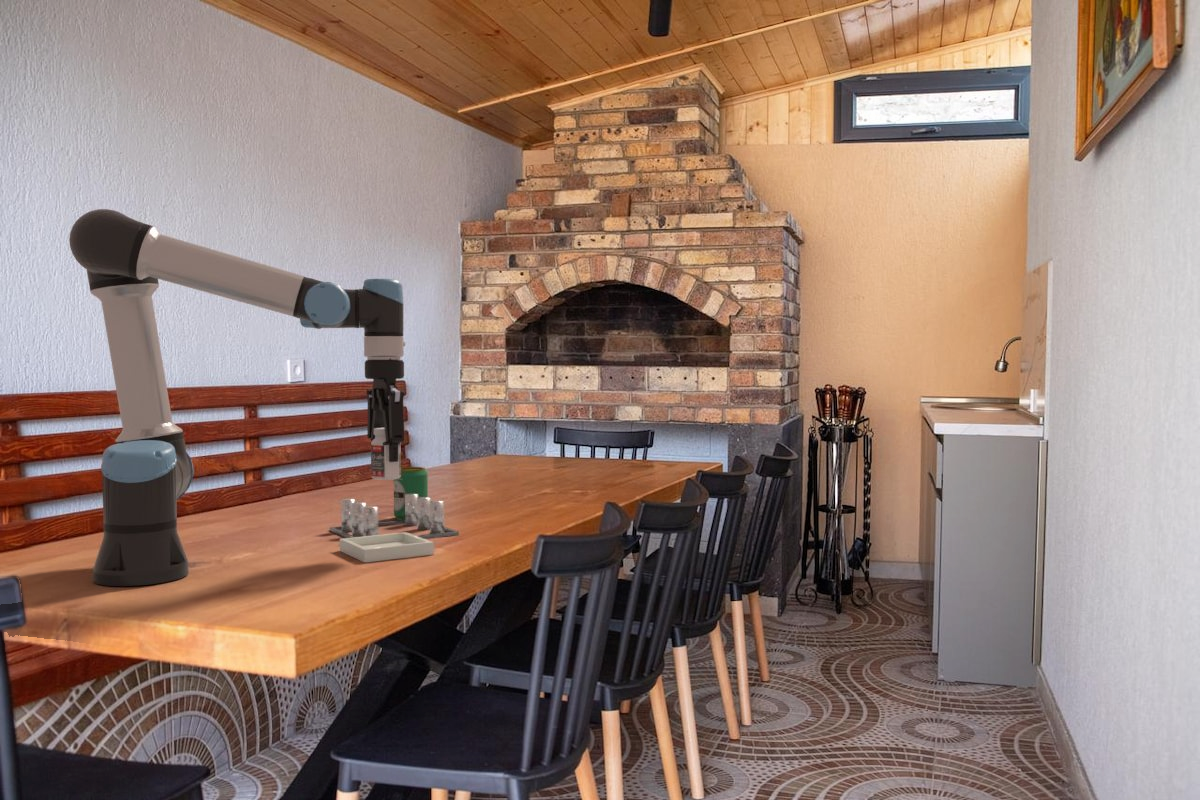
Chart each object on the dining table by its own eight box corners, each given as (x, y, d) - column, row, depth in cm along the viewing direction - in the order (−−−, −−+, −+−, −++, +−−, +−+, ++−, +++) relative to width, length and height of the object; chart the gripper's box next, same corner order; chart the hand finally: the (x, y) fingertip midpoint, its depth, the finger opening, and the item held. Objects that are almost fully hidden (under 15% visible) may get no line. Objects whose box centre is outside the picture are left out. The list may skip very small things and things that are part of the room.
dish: (364, 562, 189) (364, 549, 189) (339, 550, 201) (339, 538, 200) (433, 554, 196) (433, 542, 196) (406, 543, 208) (405, 532, 208)
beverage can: (387, 518, 242) (387, 468, 242) (416, 514, 247) (416, 466, 247) (405, 522, 236) (404, 471, 236) (434, 518, 242) (433, 468, 241)
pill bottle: (368, 480, 195) (367, 429, 195) (374, 477, 201) (373, 427, 200) (398, 480, 195) (397, 428, 195) (403, 476, 201) (402, 427, 201)
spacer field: (362, 545, 207) (362, 511, 206) (328, 530, 225) (327, 498, 225) (460, 534, 219) (460, 502, 219) (420, 521, 237) (419, 491, 237)
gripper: (421, 358, 191) (422, 480, 192) (384, 358, 207) (386, 471, 208) (383, 358, 187) (385, 483, 188) (349, 358, 203) (350, 473, 204)
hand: (385, 476), depth 198 cm, fingers closed on pill bottle, 6 cm apart
